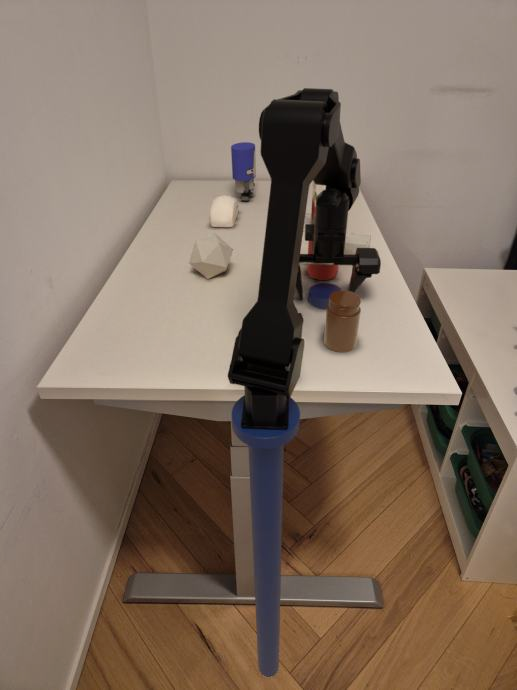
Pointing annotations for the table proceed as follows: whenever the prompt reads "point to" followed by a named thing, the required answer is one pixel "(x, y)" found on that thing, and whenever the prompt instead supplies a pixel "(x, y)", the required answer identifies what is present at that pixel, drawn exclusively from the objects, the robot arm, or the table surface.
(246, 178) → the toy
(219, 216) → the computer mouse
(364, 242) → the small box
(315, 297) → the lid
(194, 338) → the table surface
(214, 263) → the die
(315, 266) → the beer can
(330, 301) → the jar
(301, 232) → the robot arm
